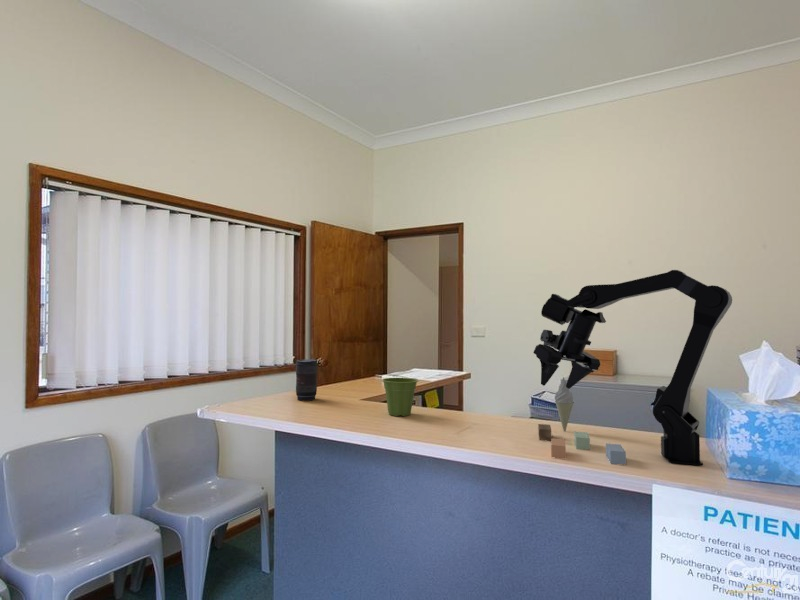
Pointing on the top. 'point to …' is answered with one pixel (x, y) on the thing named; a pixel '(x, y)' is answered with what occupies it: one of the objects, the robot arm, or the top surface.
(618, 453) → the slate brick
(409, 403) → the plant pot
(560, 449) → the terracotta brick
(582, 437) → the green brick
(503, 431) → the top surface
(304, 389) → the camera lens
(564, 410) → the ice cream cone
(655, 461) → the top surface
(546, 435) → the walnut brick
